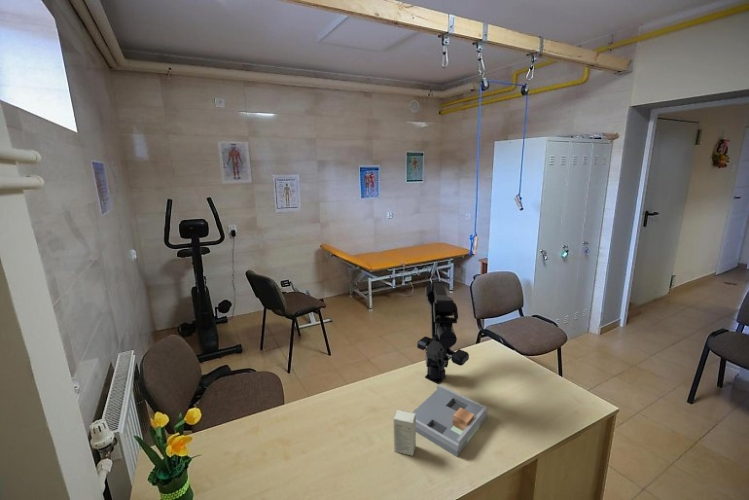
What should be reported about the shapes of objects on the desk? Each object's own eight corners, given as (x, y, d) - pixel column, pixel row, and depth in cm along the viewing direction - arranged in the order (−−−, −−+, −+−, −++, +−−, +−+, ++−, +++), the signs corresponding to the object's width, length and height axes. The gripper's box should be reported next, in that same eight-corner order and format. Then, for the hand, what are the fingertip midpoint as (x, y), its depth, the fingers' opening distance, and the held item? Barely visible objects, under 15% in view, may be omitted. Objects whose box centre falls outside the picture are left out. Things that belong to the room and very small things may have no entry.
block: (452, 425, 115) (453, 415, 114) (459, 417, 119) (460, 407, 118) (466, 432, 112) (467, 422, 111) (473, 424, 116) (474, 414, 115)
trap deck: (404, 424, 118) (404, 412, 117) (437, 393, 134) (438, 381, 133) (456, 456, 105) (457, 443, 104) (487, 417, 121) (488, 405, 120)
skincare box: (416, 445, 110) (417, 413, 106) (412, 456, 106) (413, 423, 102) (396, 440, 112) (396, 408, 108) (392, 451, 108) (393, 418, 104)
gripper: (408, 332, 124) (408, 370, 128) (455, 350, 113) (452, 391, 117) (425, 321, 133) (424, 357, 137) (471, 337, 121) (468, 376, 125)
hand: (441, 370), depth 128 cm, fingers closed
